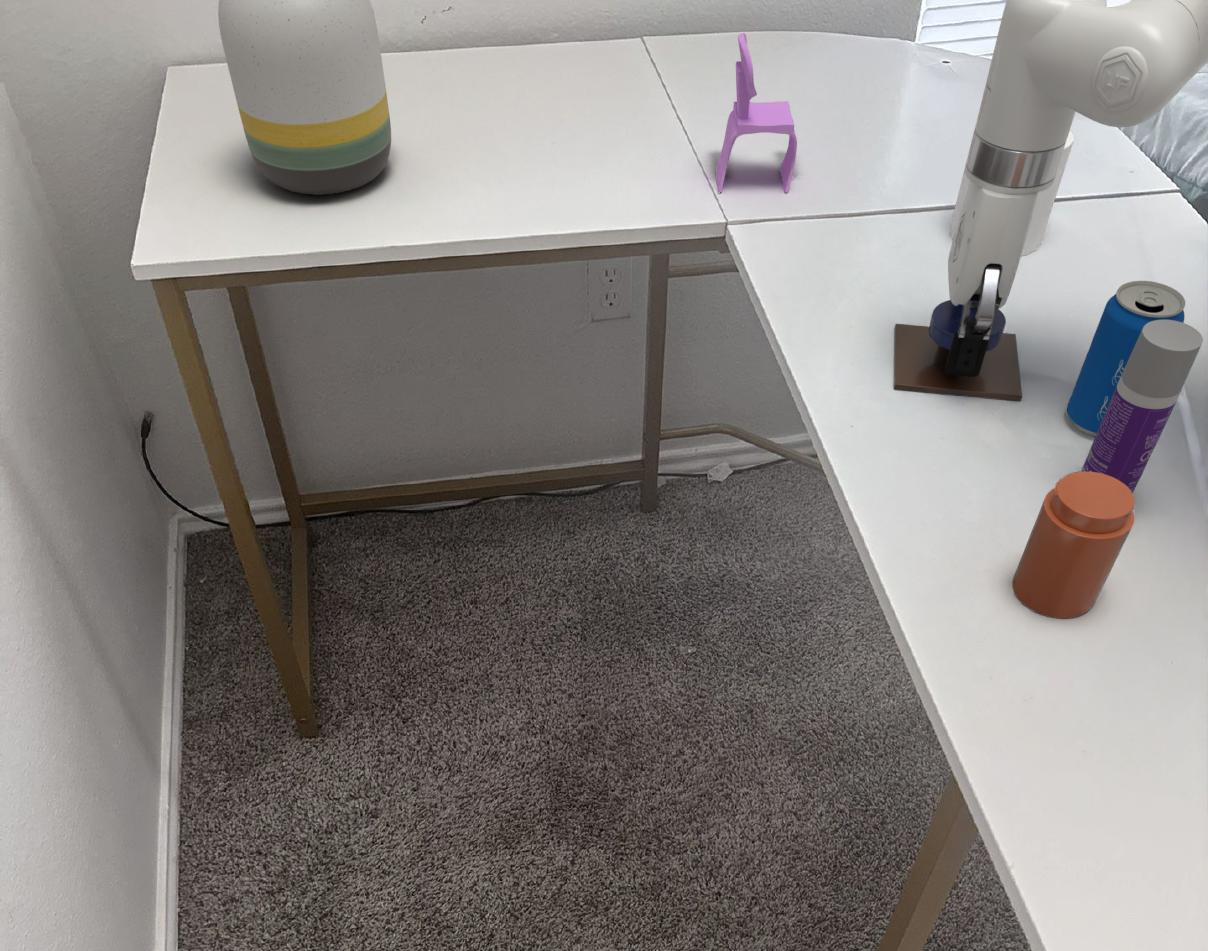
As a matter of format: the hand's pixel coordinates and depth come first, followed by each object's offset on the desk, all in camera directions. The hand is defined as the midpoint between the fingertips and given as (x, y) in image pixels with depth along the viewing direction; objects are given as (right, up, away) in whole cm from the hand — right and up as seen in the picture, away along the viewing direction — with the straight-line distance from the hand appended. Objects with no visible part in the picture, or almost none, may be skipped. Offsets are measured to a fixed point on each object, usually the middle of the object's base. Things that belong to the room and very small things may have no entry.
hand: (960, 351), depth 106 cm
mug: (+9, +19, +16) cm, 27 cm away
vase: (-68, +32, +26) cm, 80 cm away
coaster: (0, -1, +1) cm, 1 cm away
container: (+9, -18, -11) cm, 22 cm away
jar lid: (0, +2, -2) cm, 3 cm away
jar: (+2, -27, -18) cm, 33 cm away
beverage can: (+11, -9, -5) cm, 15 cm away
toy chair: (-17, +31, +25) cm, 43 cm away
